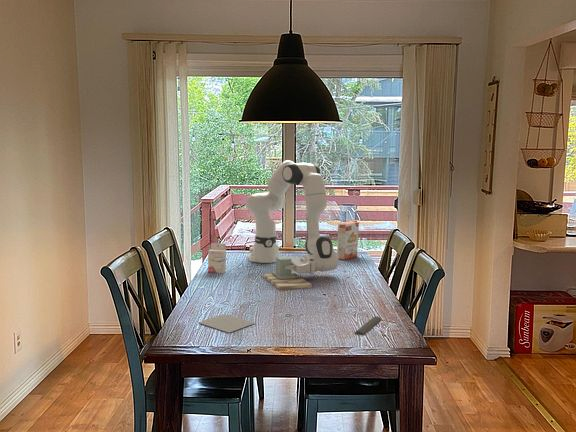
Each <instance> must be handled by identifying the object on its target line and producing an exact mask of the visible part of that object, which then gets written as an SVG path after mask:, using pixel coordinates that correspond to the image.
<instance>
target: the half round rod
mask: <svg viewBox="0 0 576 432" xmlns="http://www.w3.org/2000/svg"><path fill="white" fill-rule="evenodd" d="M381 318H382V317H379V316H377V315H375V316H373V317H372V318H370V320H368V321H367V322H365V324H363V325H362V326H361V327H359V328H358V329H357V330H356V331H355V332H354V334H355V335H362V336H365V335H367V333H369V332H370V331H371V330H372V329H373V328H375V327H376V326H377V325H378V324H379V323H380V322H382V321H381V320H382V319H381Z"/></svg>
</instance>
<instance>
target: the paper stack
mask: <svg viewBox="0 0 576 432" xmlns="http://www.w3.org/2000/svg"><path fill="white" fill-rule="evenodd" d="M197 323H198V324H201V325H204V326H207V327H211V328H213V329H215V330H216V329H217V330H220V331H222V332H225V333H229V334H230V333H232V332H235V331H238V330H241V329H244V328H246V327H248V326H251V325H253V324H254V325H255V322H254V321H250V320H246V319H244V318H239V317H237V316H233V315H229V314H227V313H223V314H220V315H217V316H214V317H211V318H207V319H205V320H202V321H198V322H197Z"/></svg>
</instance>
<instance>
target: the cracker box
mask: <svg viewBox="0 0 576 432" xmlns="http://www.w3.org/2000/svg"><path fill="white" fill-rule="evenodd" d="M359 225H360V224H359V221H353V220H352V221H351V220H350V221H346V222H340V223H338V225H337V226H338V227H337V250H336V254H337V255H338V257H339V260H344V261H345V260H349V259H353V258H357V257H358V248H359V247H358V245H359V227H360V226H359Z"/></svg>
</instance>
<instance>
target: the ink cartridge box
mask: <svg viewBox="0 0 576 432" xmlns="http://www.w3.org/2000/svg"><path fill="white" fill-rule="evenodd" d="M207 251H208V253H207V256H208V259H207V262H208V264H207V265H208V266H207V267H208V268H207V269H208V270H207V272H208V273H214V274H225V272H226V271H227V246H226V243H217V242H216V243H213V242H211V243H210V249H209V250H207Z"/></svg>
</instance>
